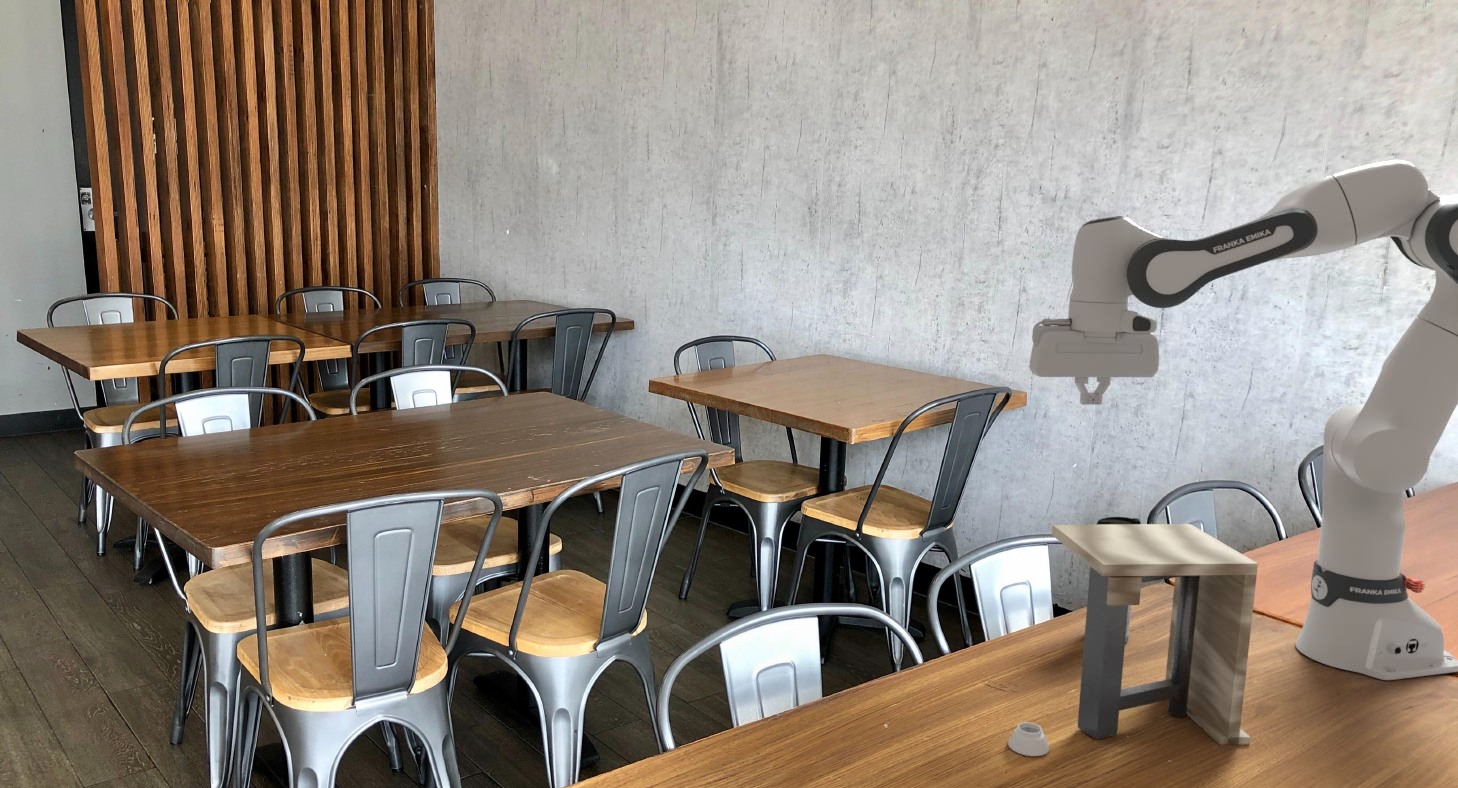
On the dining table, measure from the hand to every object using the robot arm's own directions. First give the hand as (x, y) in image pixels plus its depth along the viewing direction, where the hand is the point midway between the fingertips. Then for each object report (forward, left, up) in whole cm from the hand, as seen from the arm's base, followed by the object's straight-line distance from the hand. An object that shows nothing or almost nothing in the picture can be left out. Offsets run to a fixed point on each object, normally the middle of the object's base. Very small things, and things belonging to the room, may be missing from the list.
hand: (1090, 404), depth 173 cm
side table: (+5, +33, -37) cm, 50 cm away
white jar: (+23, +42, -38) cm, 61 cm away
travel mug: (-3, +7, -37) cm, 38 cm away
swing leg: (+6, +36, -37) cm, 52 cm away
